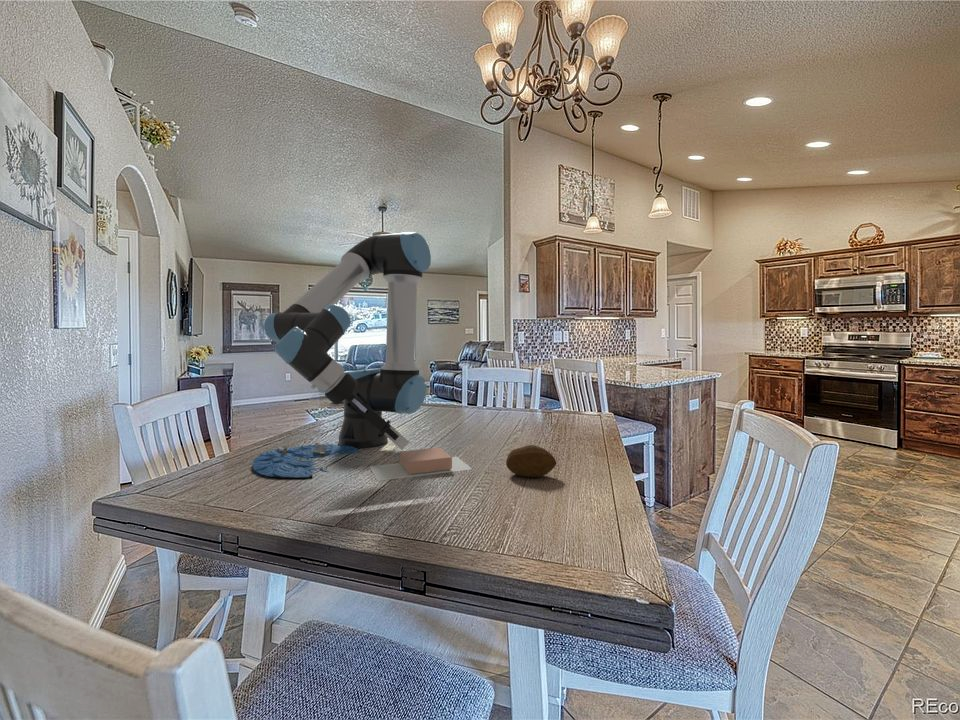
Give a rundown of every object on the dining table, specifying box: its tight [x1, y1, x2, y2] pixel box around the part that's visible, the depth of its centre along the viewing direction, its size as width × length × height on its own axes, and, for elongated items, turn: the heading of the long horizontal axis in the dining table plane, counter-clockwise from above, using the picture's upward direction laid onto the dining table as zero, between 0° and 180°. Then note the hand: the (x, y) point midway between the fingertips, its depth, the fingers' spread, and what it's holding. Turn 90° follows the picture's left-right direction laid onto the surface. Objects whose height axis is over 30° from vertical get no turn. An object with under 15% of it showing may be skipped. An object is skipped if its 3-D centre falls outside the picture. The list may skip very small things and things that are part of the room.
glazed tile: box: [399, 446, 453, 475], centre depth 121 cm, size 10×3×11 cm
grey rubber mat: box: [369, 456, 473, 482], centre depth 121 cm, size 12×24×1 cm, turn 113°
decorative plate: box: [252, 442, 363, 479], centre depth 129 cm, size 30×30×5 cm
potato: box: [505, 444, 557, 478], centre depth 117 cm, size 8×12×8 cm, turn 88°
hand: (404, 445), depth 119 cm, fingers closed
